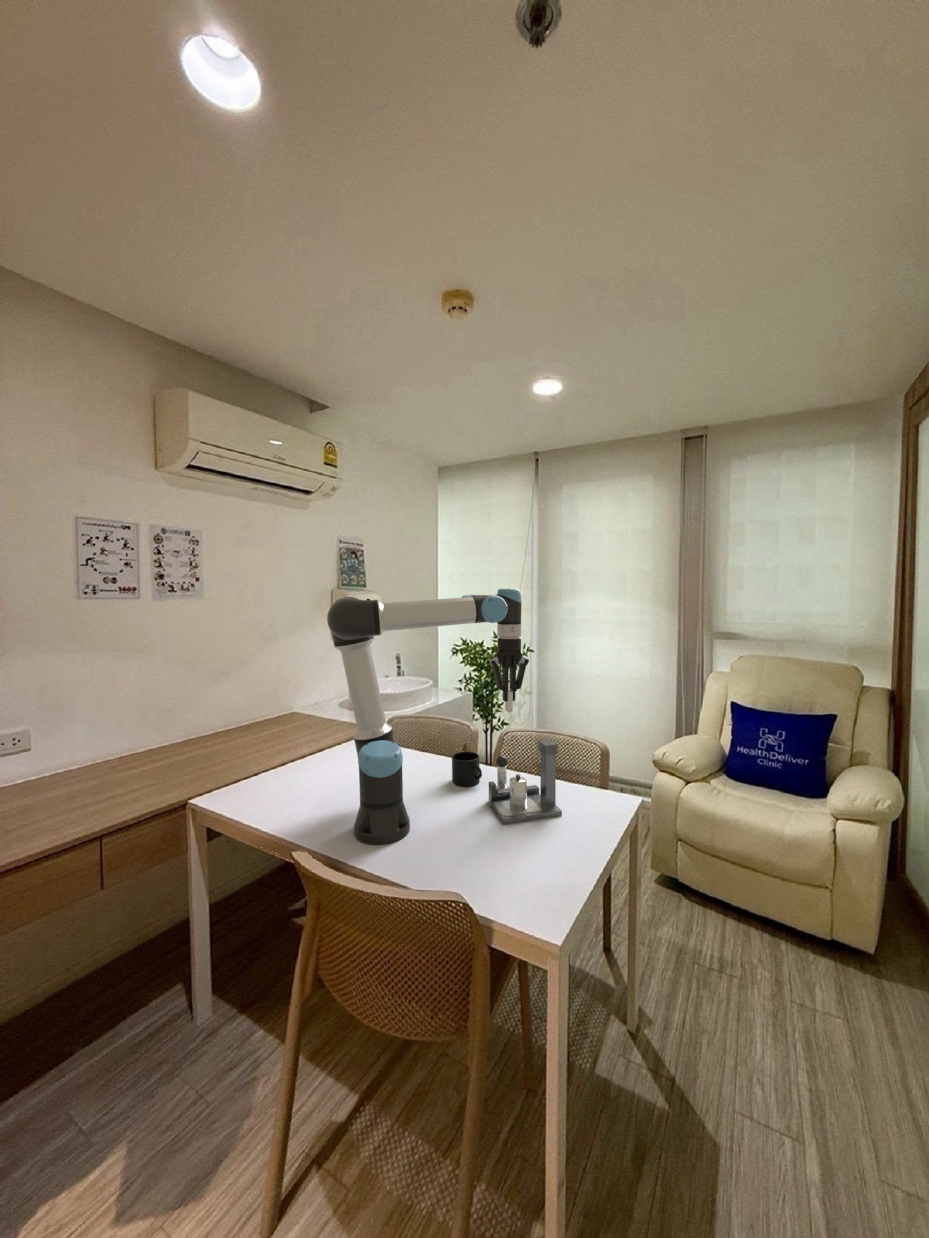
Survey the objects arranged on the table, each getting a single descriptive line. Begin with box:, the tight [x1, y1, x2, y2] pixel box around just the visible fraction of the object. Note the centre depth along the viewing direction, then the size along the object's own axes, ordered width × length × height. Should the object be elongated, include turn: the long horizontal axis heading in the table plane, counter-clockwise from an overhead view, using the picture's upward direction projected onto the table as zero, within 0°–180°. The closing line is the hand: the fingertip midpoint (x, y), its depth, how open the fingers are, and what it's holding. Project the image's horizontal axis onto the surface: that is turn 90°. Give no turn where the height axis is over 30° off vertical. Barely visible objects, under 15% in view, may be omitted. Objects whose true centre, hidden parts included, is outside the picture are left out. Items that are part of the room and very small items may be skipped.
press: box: [488, 738, 563, 826], centre depth 144 cm, size 18×16×20 cm
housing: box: [509, 773, 528, 810], centre depth 142 cm, size 5×5×10 cm
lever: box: [495, 755, 510, 793], centre depth 149 cm, size 4×4×11 cm
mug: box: [451, 751, 483, 788], centre depth 164 cm, size 9×12×9 cm
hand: (508, 711), depth 153 cm, fingers closed
